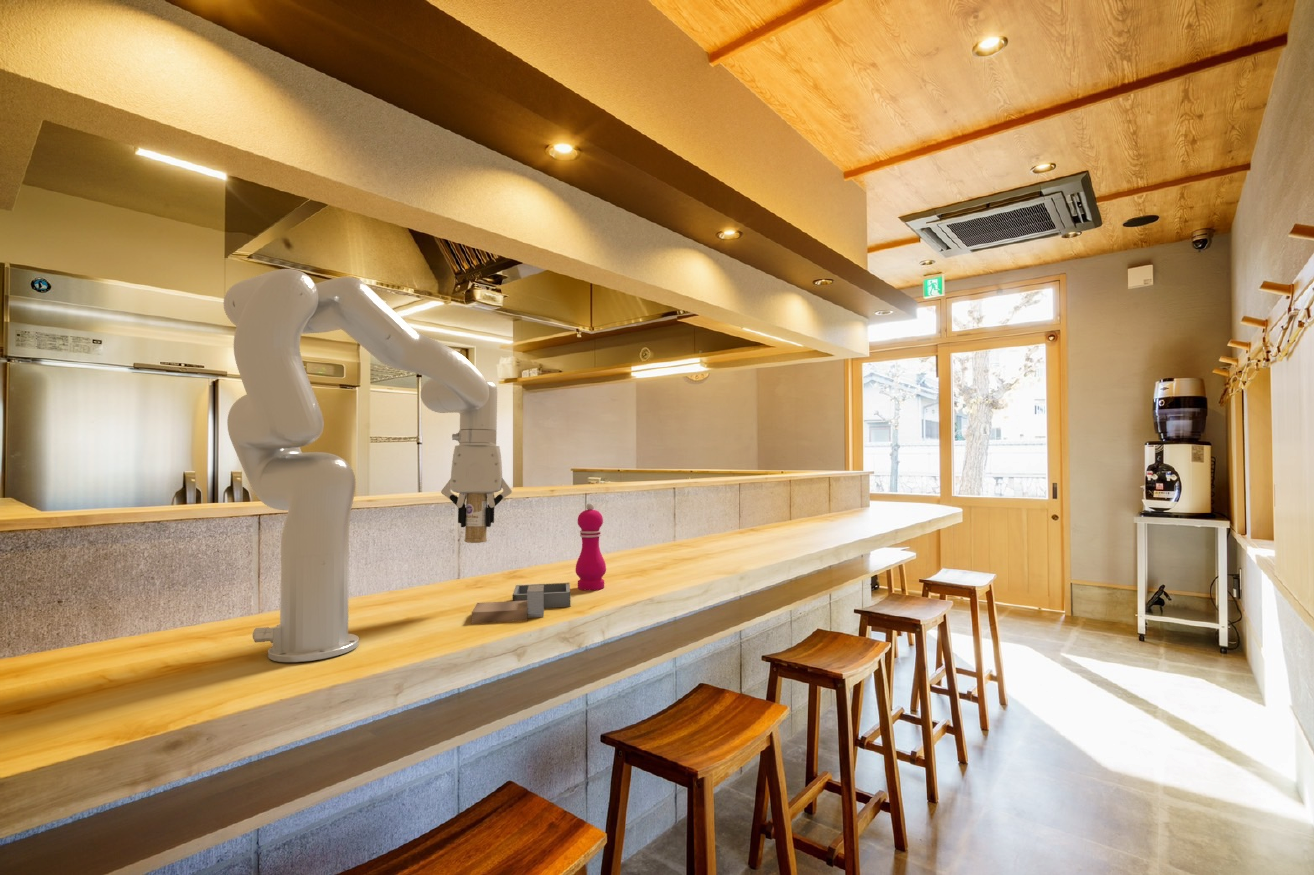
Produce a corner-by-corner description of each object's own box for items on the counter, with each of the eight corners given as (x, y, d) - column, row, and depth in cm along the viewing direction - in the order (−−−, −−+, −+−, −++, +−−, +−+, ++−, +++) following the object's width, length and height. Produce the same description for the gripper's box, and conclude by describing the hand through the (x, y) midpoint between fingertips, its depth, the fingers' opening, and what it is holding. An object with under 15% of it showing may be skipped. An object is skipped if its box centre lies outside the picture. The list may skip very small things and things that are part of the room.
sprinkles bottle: (460, 542, 126) (461, 477, 127) (472, 540, 130) (473, 477, 131) (480, 543, 124) (481, 477, 125) (491, 541, 129) (492, 477, 130)
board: (471, 626, 113) (471, 612, 113) (477, 615, 121) (477, 602, 121) (526, 623, 114) (526, 609, 115) (528, 612, 122) (528, 600, 122)
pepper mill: (608, 585, 147) (607, 501, 148) (603, 591, 140) (602, 503, 141) (579, 584, 148) (578, 502, 149) (572, 591, 141) (571, 504, 142)
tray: (512, 609, 123) (512, 595, 123) (516, 598, 134) (515, 585, 134) (570, 606, 125) (570, 592, 125) (569, 595, 136) (569, 582, 136)
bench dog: (527, 618, 116) (527, 591, 116) (528, 610, 122) (528, 585, 122) (543, 617, 117) (543, 590, 117) (544, 609, 123) (543, 584, 123)
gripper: (432, 437, 124) (430, 528, 122) (517, 438, 126) (516, 527, 125) (439, 440, 131) (437, 526, 130) (519, 441, 134) (518, 525, 132)
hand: (476, 525), depth 127 cm, fingers closed on sprinkles bottle, 4 cm apart
